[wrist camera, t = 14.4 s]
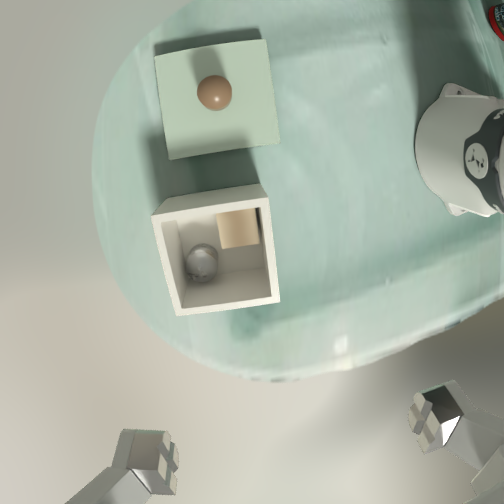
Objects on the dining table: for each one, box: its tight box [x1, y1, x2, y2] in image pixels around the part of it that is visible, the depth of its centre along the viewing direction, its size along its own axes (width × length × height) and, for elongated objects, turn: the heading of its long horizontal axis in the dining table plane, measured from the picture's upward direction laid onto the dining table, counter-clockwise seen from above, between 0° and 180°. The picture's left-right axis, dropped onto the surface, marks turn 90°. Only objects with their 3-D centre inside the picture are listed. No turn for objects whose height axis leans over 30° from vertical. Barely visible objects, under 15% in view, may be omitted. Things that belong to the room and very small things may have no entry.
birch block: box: [216, 208, 260, 249], centre depth 35 cm, size 4×4×4 cm
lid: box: [154, 39, 280, 160], centre depth 29 cm, size 12×12×7 cm
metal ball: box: [186, 243, 218, 282], centre depth 37 cm, size 4×4×3 cm
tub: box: [151, 183, 280, 316], centre depth 34 cm, size 11×11×8 cm
